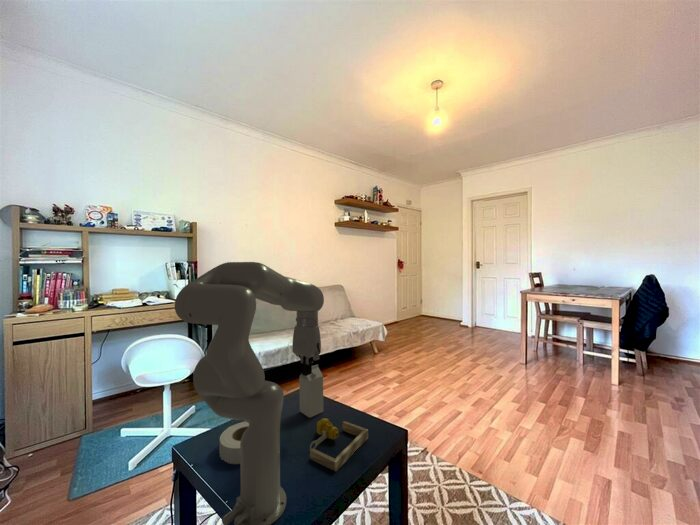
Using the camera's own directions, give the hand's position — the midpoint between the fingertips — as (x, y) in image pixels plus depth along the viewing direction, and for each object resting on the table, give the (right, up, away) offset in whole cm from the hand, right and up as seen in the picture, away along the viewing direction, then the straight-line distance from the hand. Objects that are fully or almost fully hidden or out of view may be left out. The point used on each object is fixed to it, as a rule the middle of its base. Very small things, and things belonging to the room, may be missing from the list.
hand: (306, 374), depth 99 cm
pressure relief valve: (+9, -21, -5) cm, 23 cm away
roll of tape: (-20, -23, -5) cm, 31 cm away
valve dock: (+12, -23, -5) cm, 26 cm away
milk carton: (-1, -23, +18) cm, 29 cm away
